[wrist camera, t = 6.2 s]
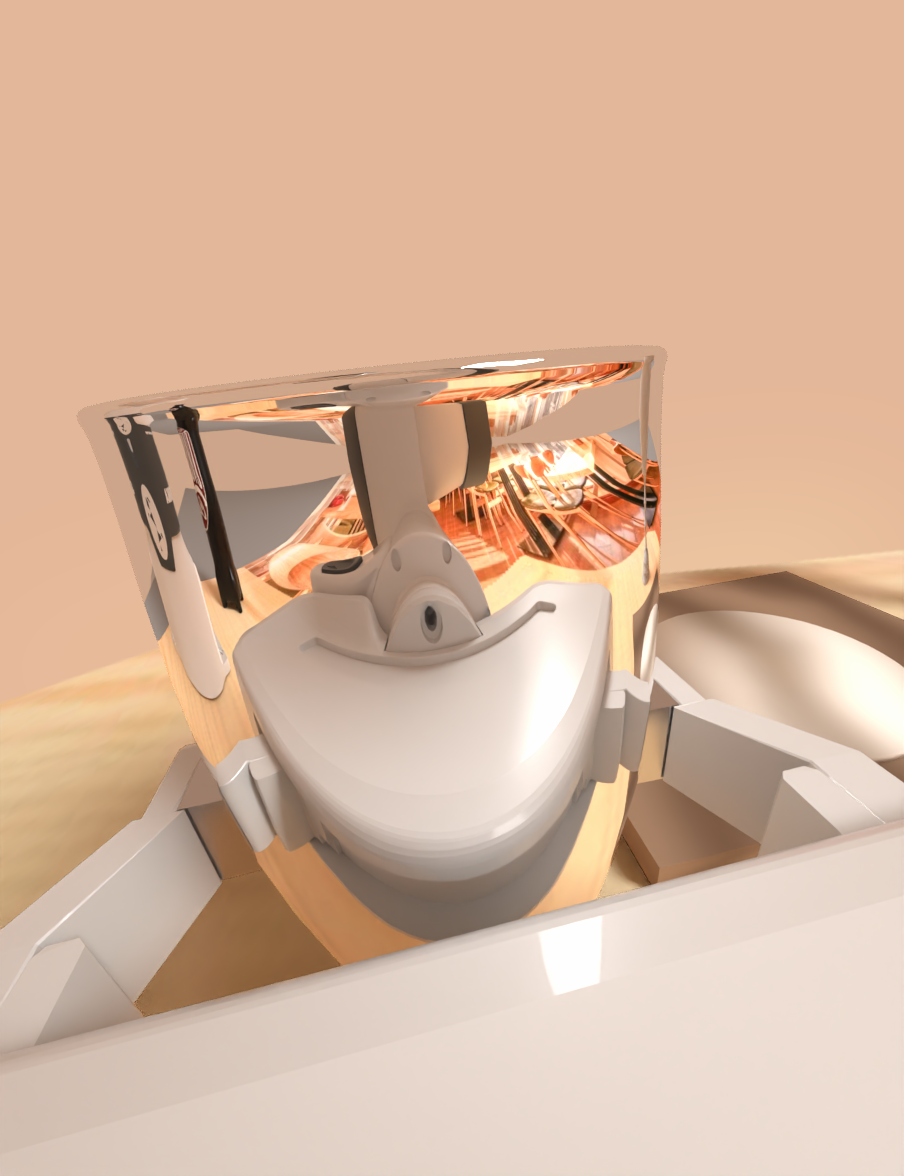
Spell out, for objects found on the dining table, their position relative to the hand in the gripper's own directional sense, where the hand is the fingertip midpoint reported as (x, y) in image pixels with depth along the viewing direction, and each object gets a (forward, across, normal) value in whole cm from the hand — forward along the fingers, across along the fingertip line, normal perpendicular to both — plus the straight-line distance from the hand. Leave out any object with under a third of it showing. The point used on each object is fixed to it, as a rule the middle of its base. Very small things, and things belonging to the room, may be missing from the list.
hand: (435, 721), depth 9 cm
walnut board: (+8, -16, +8) cm, 20 cm away
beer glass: (-1, 0, +9) cm, 9 cm away
